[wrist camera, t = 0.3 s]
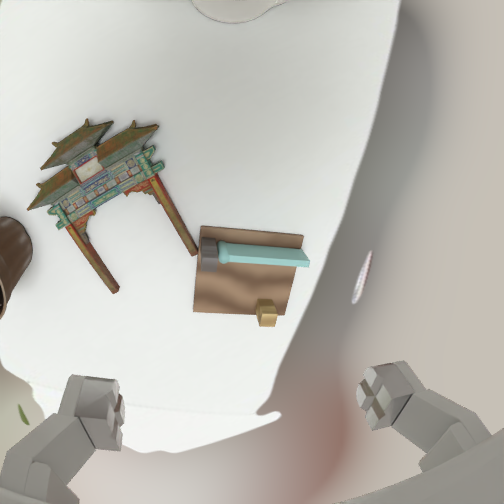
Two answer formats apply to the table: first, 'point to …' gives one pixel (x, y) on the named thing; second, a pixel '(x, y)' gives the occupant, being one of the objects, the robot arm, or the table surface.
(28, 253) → the plant pot
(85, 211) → the miniature gate
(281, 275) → the gate frame
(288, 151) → the table surface
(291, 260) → the gate
